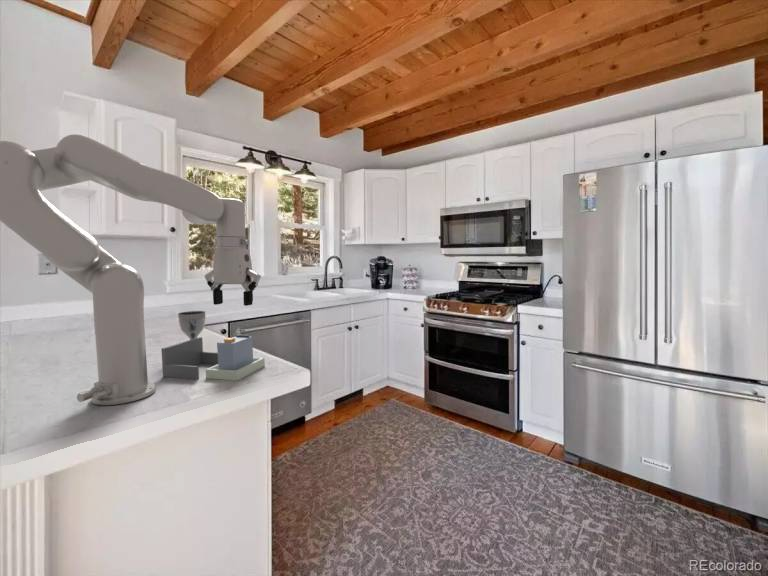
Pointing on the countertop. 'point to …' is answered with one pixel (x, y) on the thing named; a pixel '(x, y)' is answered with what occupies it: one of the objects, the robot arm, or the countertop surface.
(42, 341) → the countertop surface
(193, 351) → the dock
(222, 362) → the slate blue upright block
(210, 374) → the tray
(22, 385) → the countertop surface
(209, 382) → the countertop surface
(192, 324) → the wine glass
